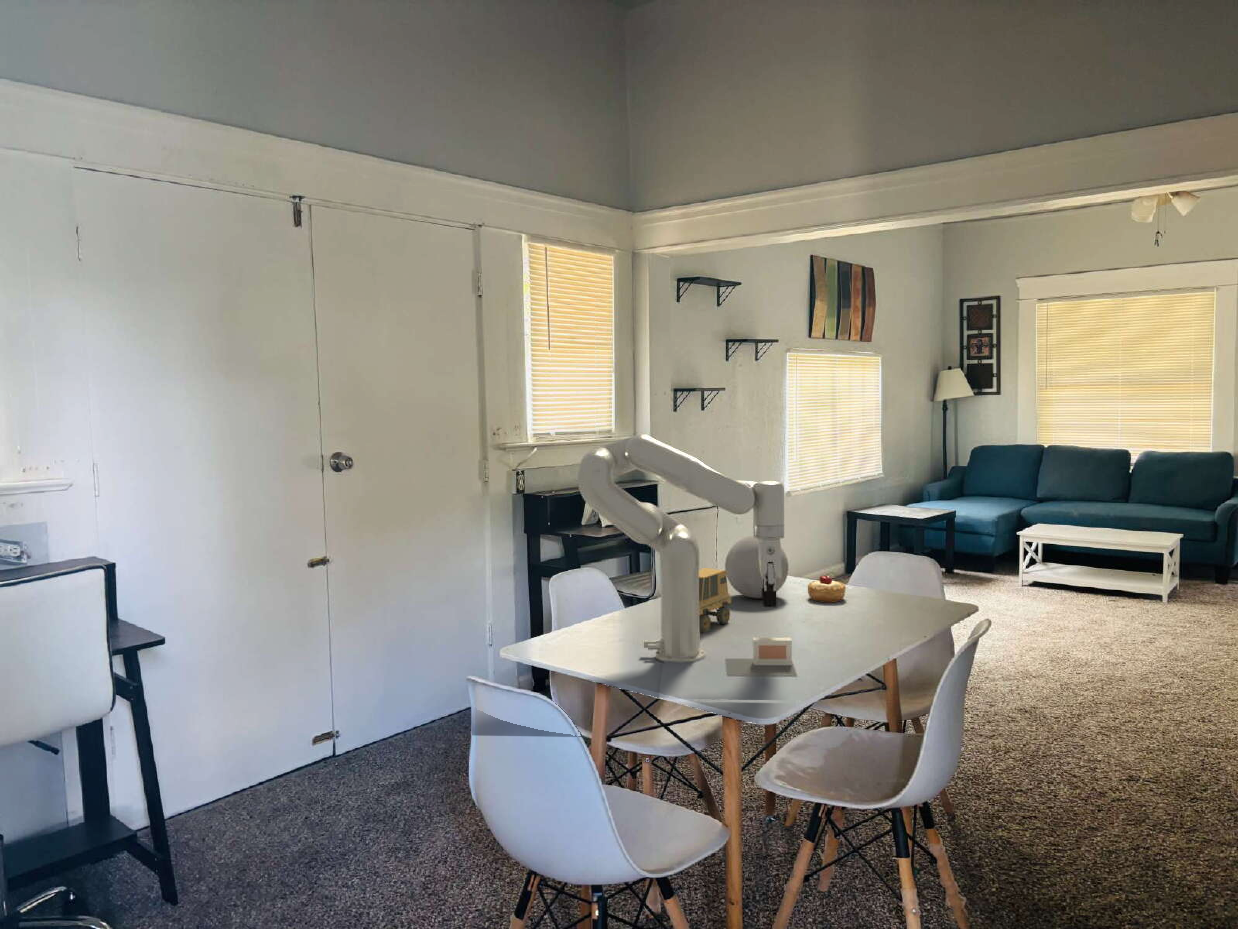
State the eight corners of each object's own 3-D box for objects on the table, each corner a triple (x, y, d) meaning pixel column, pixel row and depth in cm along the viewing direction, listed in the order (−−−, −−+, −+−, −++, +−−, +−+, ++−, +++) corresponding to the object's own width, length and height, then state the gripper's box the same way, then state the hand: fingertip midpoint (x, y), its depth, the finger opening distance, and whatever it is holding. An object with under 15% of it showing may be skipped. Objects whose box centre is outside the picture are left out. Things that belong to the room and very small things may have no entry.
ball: (793, 604, 287) (792, 540, 286) (728, 605, 288) (727, 541, 286) (783, 590, 307) (783, 530, 305) (722, 591, 308) (722, 531, 306)
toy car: (668, 630, 258) (667, 577, 257) (703, 616, 274) (702, 566, 273) (700, 635, 252) (699, 581, 251) (734, 621, 268) (734, 569, 267)
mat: (727, 678, 214) (727, 676, 214) (725, 661, 228) (725, 658, 228) (797, 679, 213) (797, 676, 212) (791, 661, 226) (791, 659, 226)
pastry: (803, 597, 299) (802, 570, 298) (839, 595, 299) (838, 568, 299) (813, 604, 287) (812, 576, 286) (851, 602, 287) (850, 574, 287)
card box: (753, 665, 222) (753, 640, 221) (753, 662, 224) (752, 637, 224) (791, 665, 221) (791, 640, 221) (790, 662, 224) (790, 637, 223)
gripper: (787, 536, 220) (787, 613, 221) (781, 526, 236) (781, 597, 238) (755, 536, 221) (755, 612, 222) (751, 526, 237) (752, 597, 238)
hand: (769, 604), depth 230 cm, fingers open, 3 cm apart
